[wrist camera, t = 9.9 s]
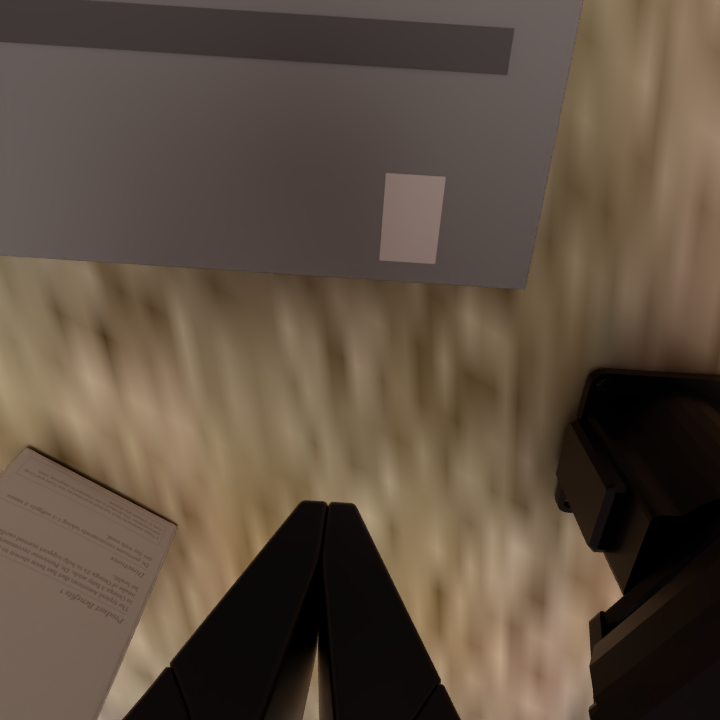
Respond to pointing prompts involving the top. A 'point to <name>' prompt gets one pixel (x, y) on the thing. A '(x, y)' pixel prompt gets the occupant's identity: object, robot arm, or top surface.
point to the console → (283, 134)
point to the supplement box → (69, 587)
